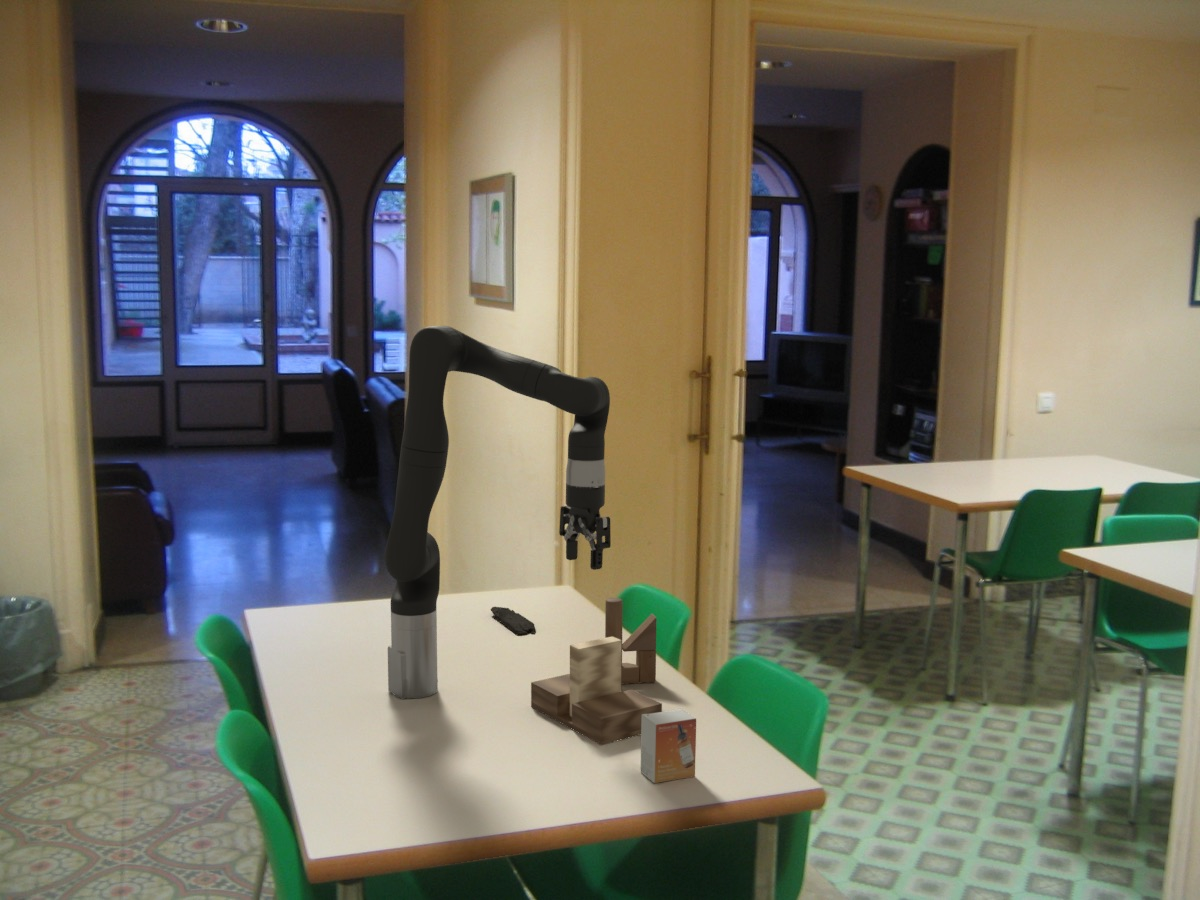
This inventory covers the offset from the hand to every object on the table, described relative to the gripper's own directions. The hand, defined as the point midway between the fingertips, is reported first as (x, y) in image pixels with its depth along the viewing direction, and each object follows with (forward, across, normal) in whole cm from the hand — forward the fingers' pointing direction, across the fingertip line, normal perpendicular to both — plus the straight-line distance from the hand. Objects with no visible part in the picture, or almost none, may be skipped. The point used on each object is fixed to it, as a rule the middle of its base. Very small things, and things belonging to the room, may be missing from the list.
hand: (583, 564), depth 229 cm
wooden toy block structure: (+30, -8, +18) cm, 36 cm away
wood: (+31, -59, +20) cm, 69 cm away
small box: (+29, +34, -5) cm, 45 cm away
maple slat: (+28, +5, 0) cm, 29 cm away
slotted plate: (+29, +5, 0) cm, 30 cm away
